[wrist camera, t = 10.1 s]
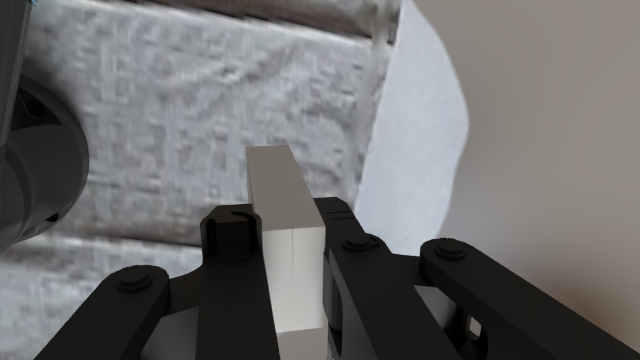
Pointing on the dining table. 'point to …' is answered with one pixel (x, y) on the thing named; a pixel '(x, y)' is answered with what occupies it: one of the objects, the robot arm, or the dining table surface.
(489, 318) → the robot arm
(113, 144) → the dining table surface
